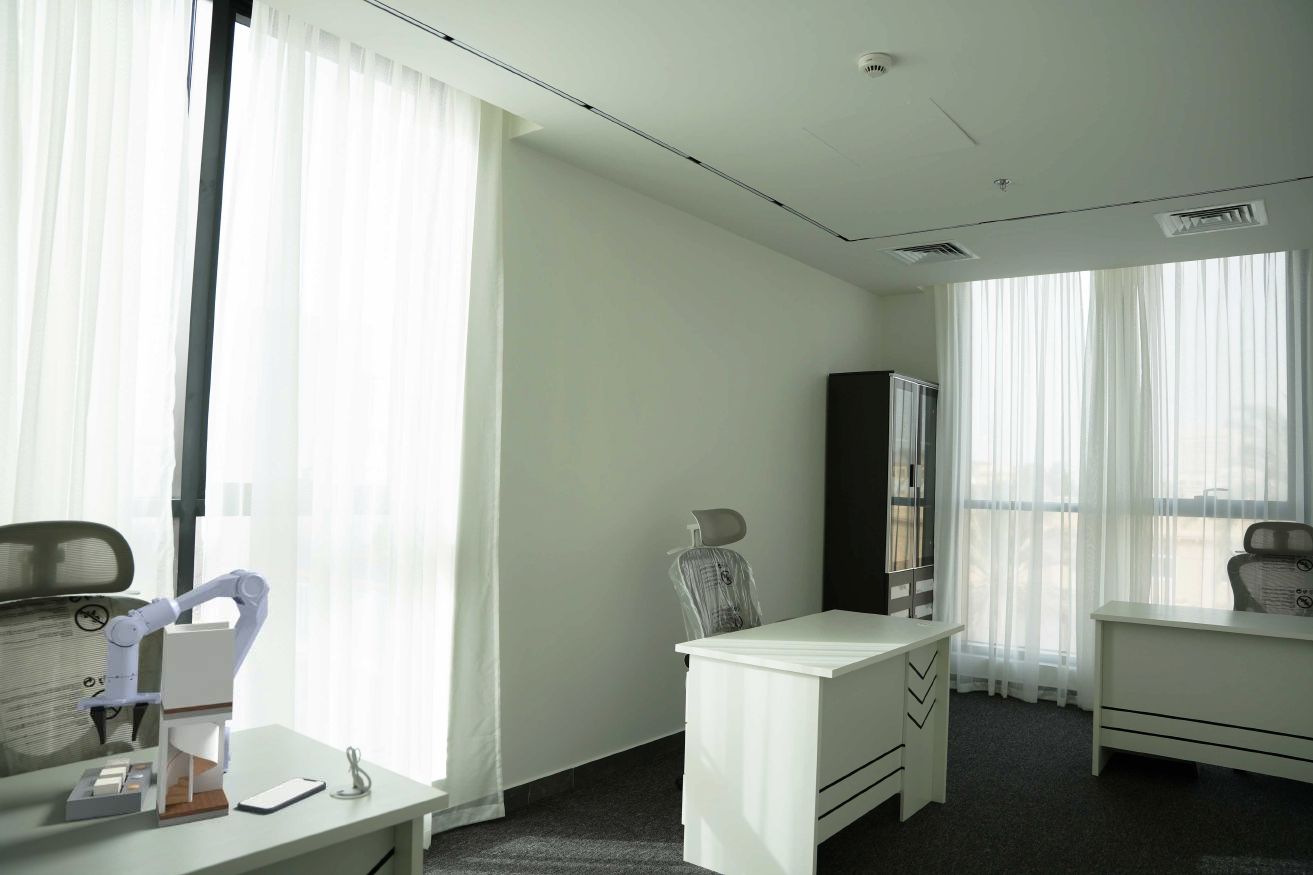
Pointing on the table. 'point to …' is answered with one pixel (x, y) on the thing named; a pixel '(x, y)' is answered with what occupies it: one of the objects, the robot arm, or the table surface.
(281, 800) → the smartphone
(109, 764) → the button
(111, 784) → the button
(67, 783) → the table surface
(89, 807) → the button board
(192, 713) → the spiral staircase model
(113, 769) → the middle button
